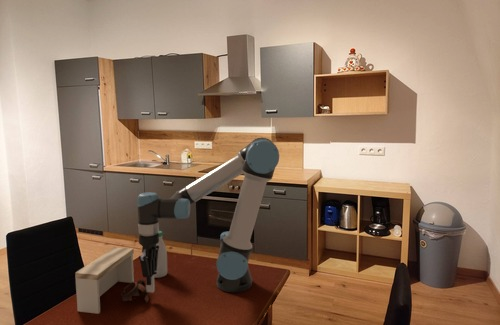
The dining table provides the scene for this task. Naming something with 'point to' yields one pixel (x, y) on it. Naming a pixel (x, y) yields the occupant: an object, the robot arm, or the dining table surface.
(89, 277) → the small wooden bench
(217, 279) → the robot arm
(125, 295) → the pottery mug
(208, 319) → the dining table surface
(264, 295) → the dining table surface
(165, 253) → the milk bottle
